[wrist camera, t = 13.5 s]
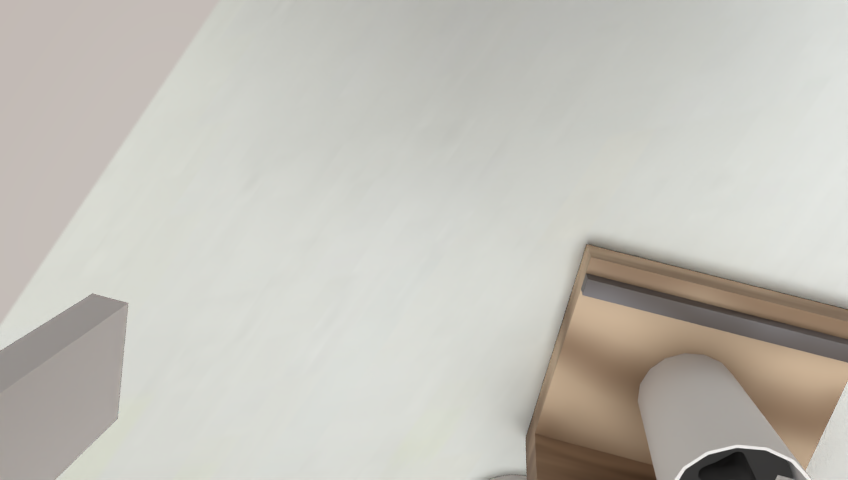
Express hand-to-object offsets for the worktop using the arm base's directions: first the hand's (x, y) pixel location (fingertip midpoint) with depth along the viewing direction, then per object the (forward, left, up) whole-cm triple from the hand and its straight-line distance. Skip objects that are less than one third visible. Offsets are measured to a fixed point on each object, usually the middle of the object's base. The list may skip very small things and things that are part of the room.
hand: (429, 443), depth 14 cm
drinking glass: (+10, +15, -26) cm, 32 cm away
